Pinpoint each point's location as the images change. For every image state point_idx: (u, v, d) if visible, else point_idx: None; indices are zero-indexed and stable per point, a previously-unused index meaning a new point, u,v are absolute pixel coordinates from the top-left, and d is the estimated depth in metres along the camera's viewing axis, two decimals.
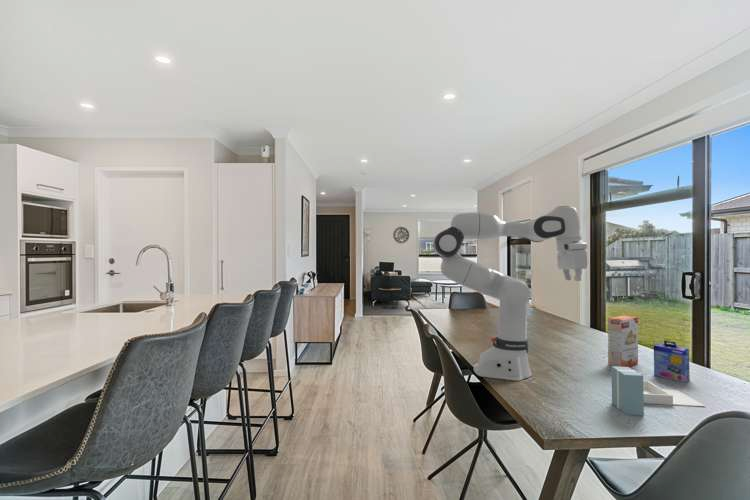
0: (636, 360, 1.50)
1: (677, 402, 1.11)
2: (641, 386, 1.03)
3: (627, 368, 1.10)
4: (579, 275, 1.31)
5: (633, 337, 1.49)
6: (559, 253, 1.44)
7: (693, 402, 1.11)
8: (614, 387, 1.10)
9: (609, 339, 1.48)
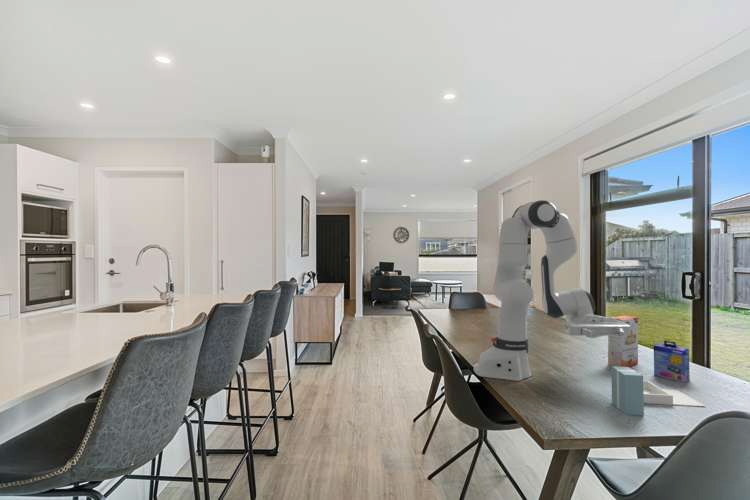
0: (636, 360, 1.50)
1: (677, 402, 1.11)
2: (641, 386, 1.03)
3: (627, 368, 1.10)
4: None
5: (633, 337, 1.49)
6: (575, 322, 1.32)
7: (693, 402, 1.11)
8: (614, 387, 1.10)
9: (609, 339, 1.48)
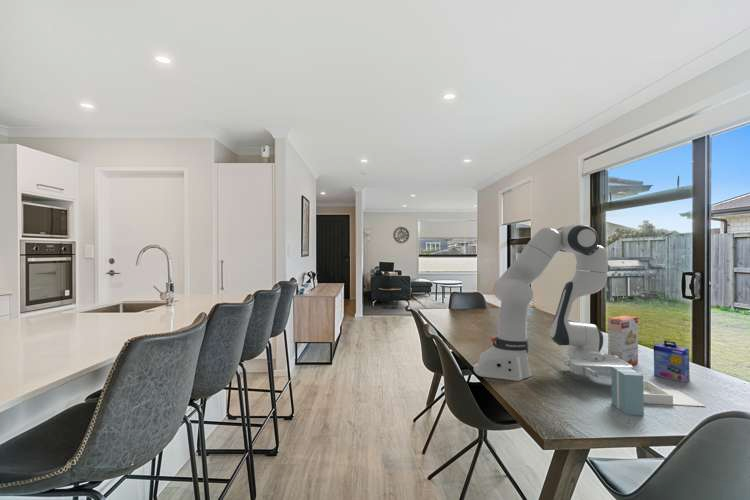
0: (636, 360, 1.50)
1: (677, 402, 1.11)
2: (641, 386, 1.03)
3: (627, 368, 1.10)
4: None
5: (633, 337, 1.49)
6: (577, 359, 1.30)
7: (693, 402, 1.11)
8: (614, 387, 1.10)
9: (609, 339, 1.48)
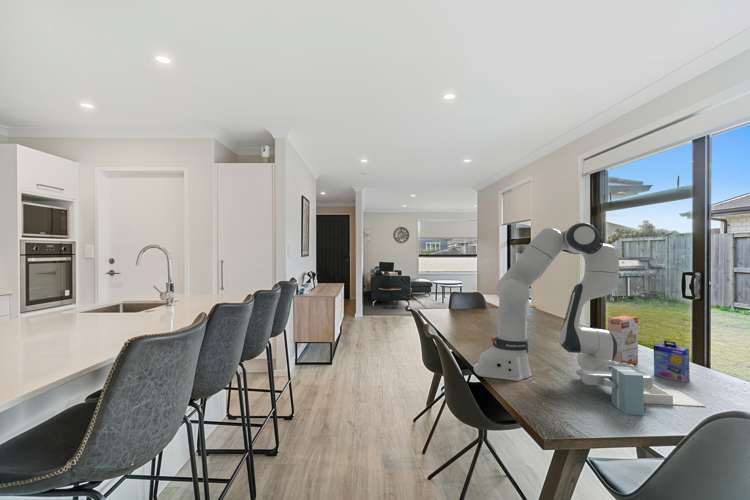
0: (636, 360, 1.50)
1: (677, 402, 1.11)
2: (641, 386, 1.03)
3: (627, 368, 1.10)
4: None
5: (633, 337, 1.49)
6: (589, 368, 1.19)
7: (693, 402, 1.11)
8: None
9: None
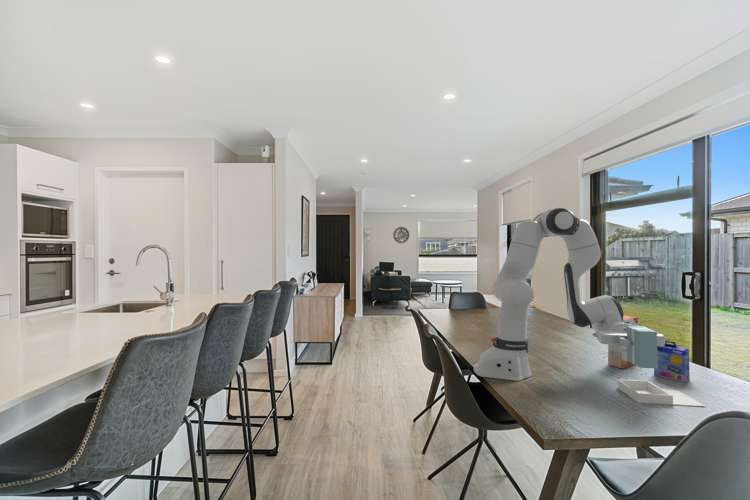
0: None
1: (677, 402, 1.11)
2: (655, 341, 1.12)
3: (641, 327, 1.18)
4: None
5: None
6: (605, 330, 1.28)
7: (693, 402, 1.11)
8: None
9: None
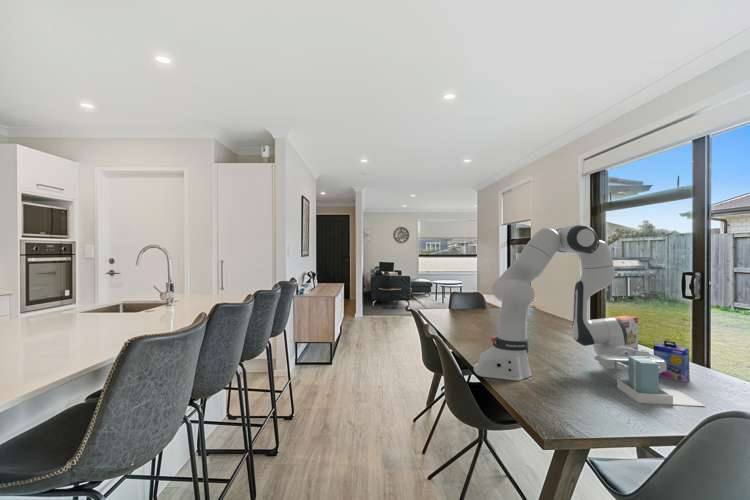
0: None
1: (677, 402, 1.11)
2: (656, 373, 1.13)
3: (643, 357, 1.19)
4: None
5: (633, 337, 1.49)
6: (607, 354, 1.29)
7: (693, 402, 1.11)
8: (631, 375, 1.20)
9: None
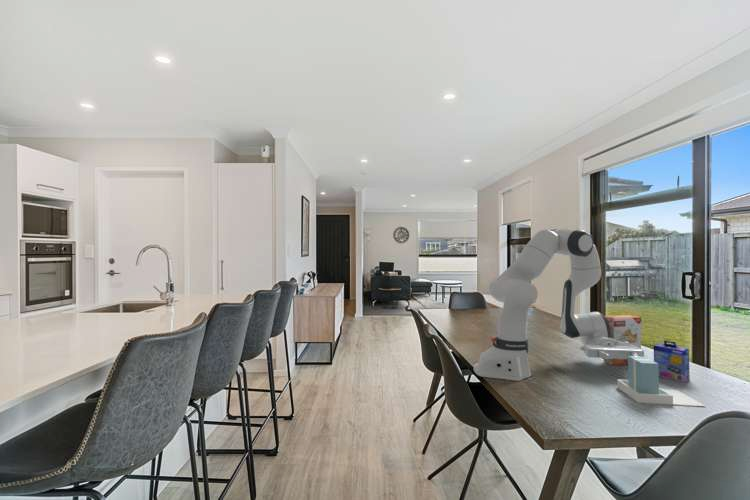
0: None
1: (677, 402, 1.11)
2: (656, 373, 1.13)
3: (643, 357, 1.19)
4: None
5: (632, 337, 1.50)
6: (591, 344, 1.42)
7: (693, 402, 1.11)
8: (631, 375, 1.20)
9: None
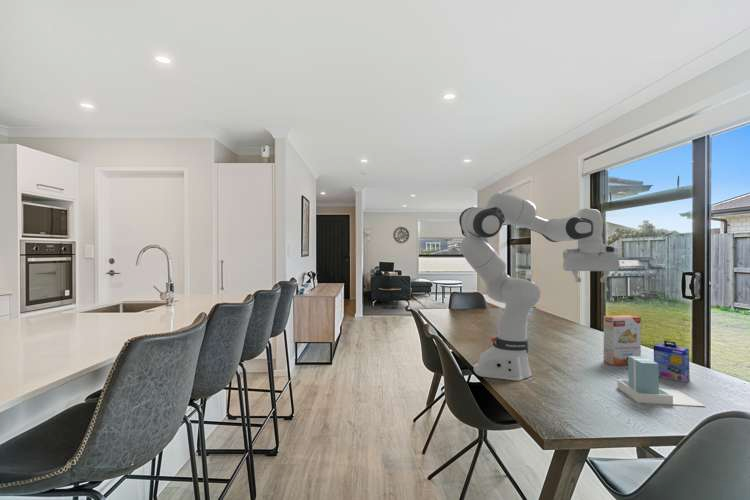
0: None
1: (677, 402, 1.11)
2: (656, 373, 1.13)
3: (643, 357, 1.19)
4: None
5: (632, 336, 1.50)
6: (575, 254, 1.40)
7: (693, 402, 1.11)
8: (631, 375, 1.20)
9: (604, 336, 1.53)
